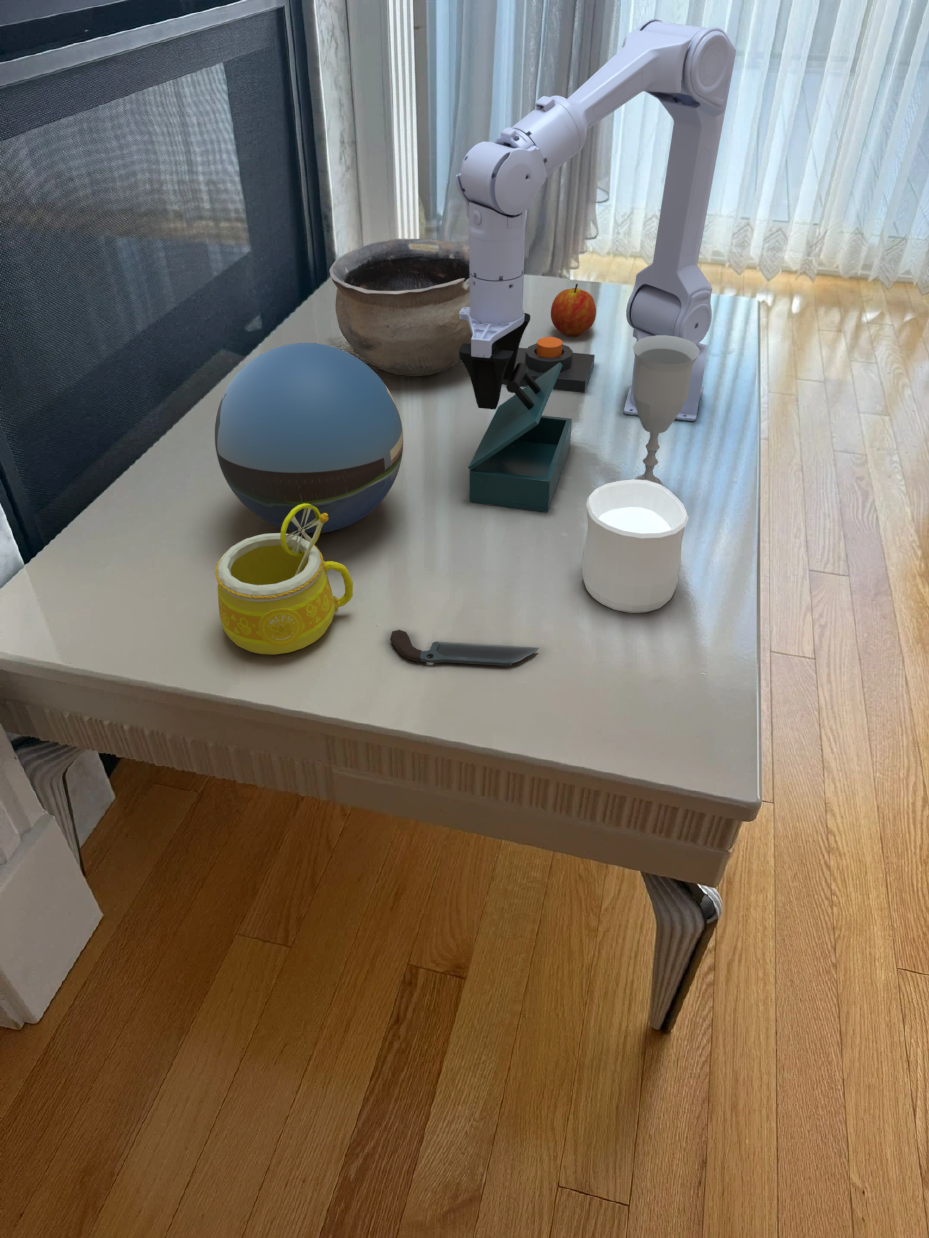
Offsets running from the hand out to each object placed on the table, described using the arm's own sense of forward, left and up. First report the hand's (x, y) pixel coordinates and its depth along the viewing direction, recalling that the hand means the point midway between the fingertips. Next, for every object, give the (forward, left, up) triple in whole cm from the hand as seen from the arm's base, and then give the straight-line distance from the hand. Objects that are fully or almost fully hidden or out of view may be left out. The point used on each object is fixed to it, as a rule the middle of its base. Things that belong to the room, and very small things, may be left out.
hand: (495, 392), depth 103 cm
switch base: (-1, -28, -10) cm, 30 cm away
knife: (-5, +33, -10) cm, 35 cm away
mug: (+13, +33, -10) cm, 37 cm away
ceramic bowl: (+19, -27, -10) cm, 34 cm away
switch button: (-1, -28, -7) cm, 29 cm away
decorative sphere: (+17, +15, -10) cm, 25 cm away
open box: (-3, 0, -10) cm, 11 cm away
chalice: (-19, +2, -10) cm, 21 cm away
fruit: (-3, -43, -10) cm, 44 cm away
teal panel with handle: (-3, 0, -3) cm, 4 cm away
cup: (-19, +19, -10) cm, 28 cm away
